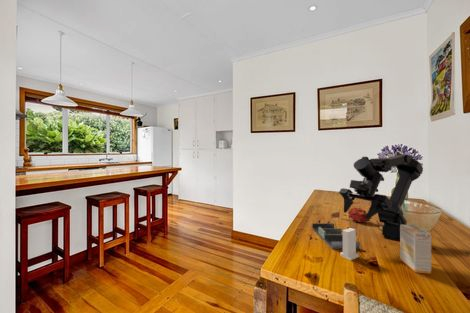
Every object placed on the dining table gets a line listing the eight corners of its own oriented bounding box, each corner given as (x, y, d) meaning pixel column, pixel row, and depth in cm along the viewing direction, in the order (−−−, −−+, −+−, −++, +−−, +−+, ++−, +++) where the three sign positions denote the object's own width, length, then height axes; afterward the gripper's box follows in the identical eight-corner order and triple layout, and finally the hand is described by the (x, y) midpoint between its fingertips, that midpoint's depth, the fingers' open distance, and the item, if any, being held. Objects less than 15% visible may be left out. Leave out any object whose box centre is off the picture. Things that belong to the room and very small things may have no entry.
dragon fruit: (346, 221, 118) (370, 229, 109) (343, 215, 113) (367, 224, 104) (352, 208, 120) (375, 216, 111) (348, 202, 115) (372, 209, 106)
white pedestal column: (348, 252, 78) (347, 227, 78) (358, 257, 74) (358, 230, 74) (340, 255, 76) (340, 229, 75) (350, 260, 72) (350, 233, 72)
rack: (333, 228, 102) (333, 221, 102) (359, 249, 80) (359, 239, 80) (312, 228, 103) (312, 221, 102) (332, 249, 81) (332, 239, 81)
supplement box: (432, 274, 63) (432, 233, 63) (415, 272, 64) (415, 232, 64) (414, 260, 71) (414, 224, 71) (399, 259, 72) (399, 223, 72)
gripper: (340, 170, 90) (324, 199, 86) (385, 174, 73) (369, 210, 69) (352, 184, 93) (338, 213, 89) (399, 191, 76) (384, 226, 72)
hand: (355, 215), depth 80 cm, fingers open, 9 cm apart
